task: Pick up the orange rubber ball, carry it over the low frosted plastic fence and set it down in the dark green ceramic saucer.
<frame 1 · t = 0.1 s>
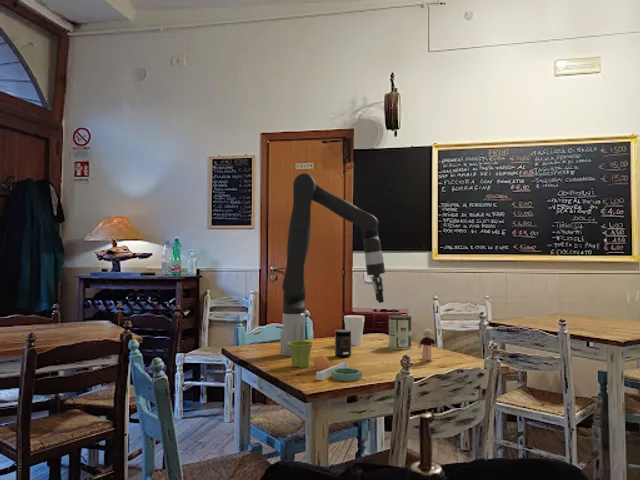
hand: (380, 301, 210), 22 cm above the table, tool pointing down, fingers open, 8 cm apart
ball: (321, 363, 181), point 3 cm above the table
plant pot: (300, 366, 189), on the table
saucer: (346, 377, 171), on the table
coffee can: (400, 347, 228), on the table
fence: (332, 374, 176), on the table
foam cup: (354, 344, 235), on the table
grandmother figurine: (427, 361, 199), on the table
supplement container: (342, 356, 208), on the table
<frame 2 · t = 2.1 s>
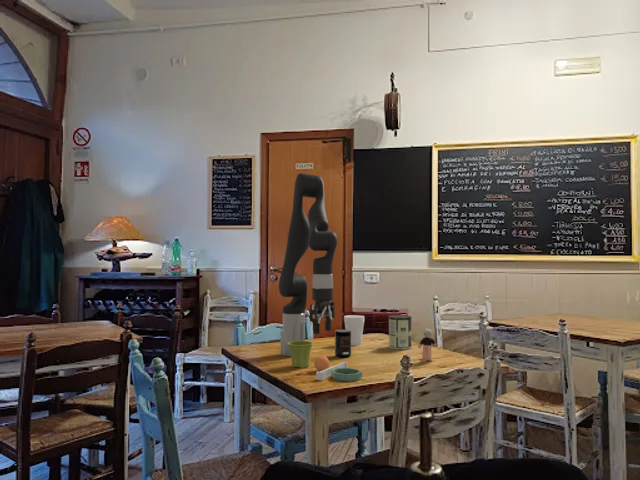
hand: (322, 332, 181), 14 cm above the table, tool pointing down, fingers open, 8 cm apart
nothing on the table moved.
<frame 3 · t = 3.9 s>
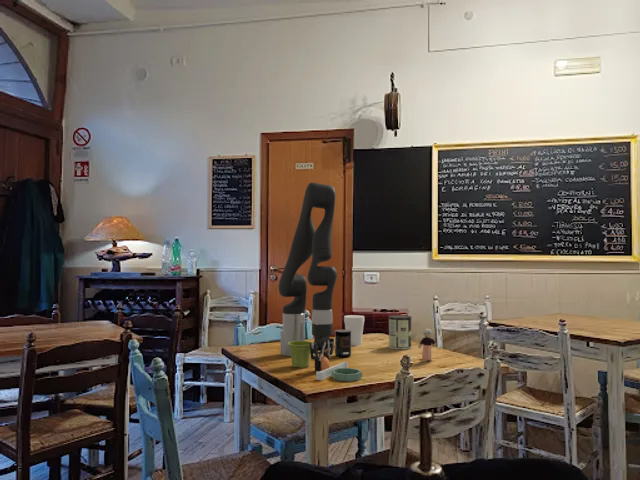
hand: (322, 369, 181), 1 cm above the table, tool pointing down, fingers closed on ball, 5 cm apart
ball: (321, 363, 181), point 3 cm above the table, touching gripper
everything else where it was.
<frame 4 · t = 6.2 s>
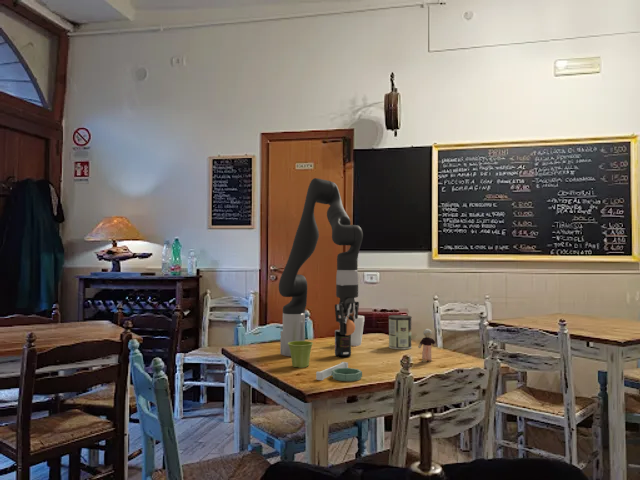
hand: (347, 333, 172), 15 cm above the table, tool pointing down, fingers closed on ball, 5 cm apart
ball: (347, 327, 172), point 17 cm above the table, touching gripper
everything else where it was.
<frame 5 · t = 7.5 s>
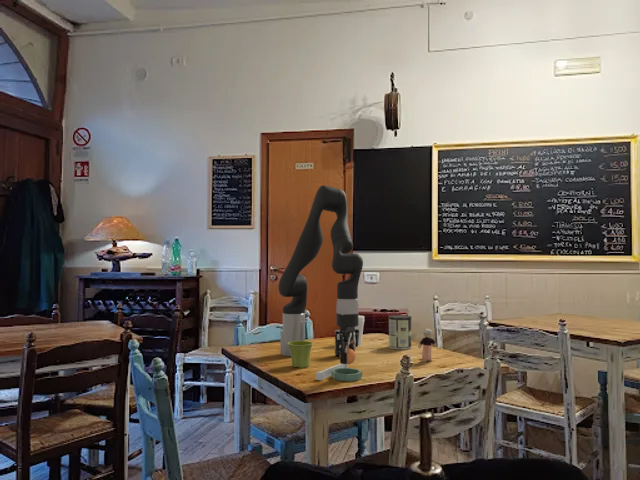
hand: (347, 361, 171), 5 cm above the table, tool pointing down, fingers closed on ball, 5 cm apart
ball: (347, 356, 171), point 7 cm above the table, touching gripper
everything else where it was.
when the fingers open (3 cm above the table, at t = 8.4 s): ball drops 2 cm, resting on saucer.
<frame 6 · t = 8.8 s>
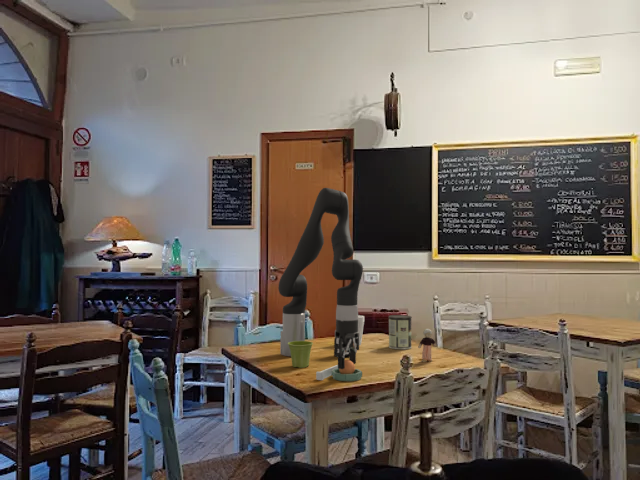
hand: (346, 366, 171), 4 cm above the table, tool pointing down, fingers open, 8 cm apart
ball: (346, 367, 171), point 3 cm above the table, touching saucer
everything else where it was.
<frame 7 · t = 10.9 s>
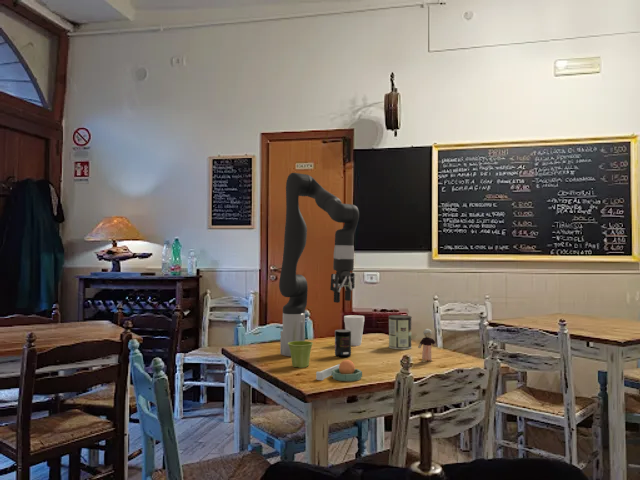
hand: (342, 301, 187), 24 cm above the table, tool pointing down, fingers open, 8 cm apart
nothing on the table moved.
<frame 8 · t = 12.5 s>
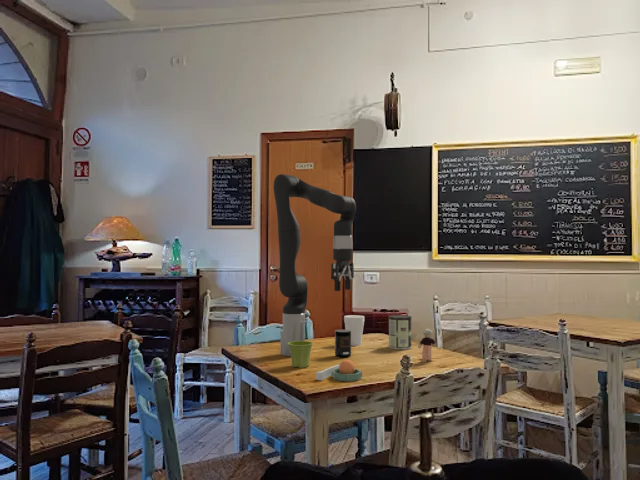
hand: (342, 290, 193), 28 cm above the table, tool pointing down, fingers open, 8 cm apart
nothing on the table moved.
at the end: ball 0.0 cm off-centre on the saucer, point 3.3 cm above the saucer's base; the gripper is holding nothing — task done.
